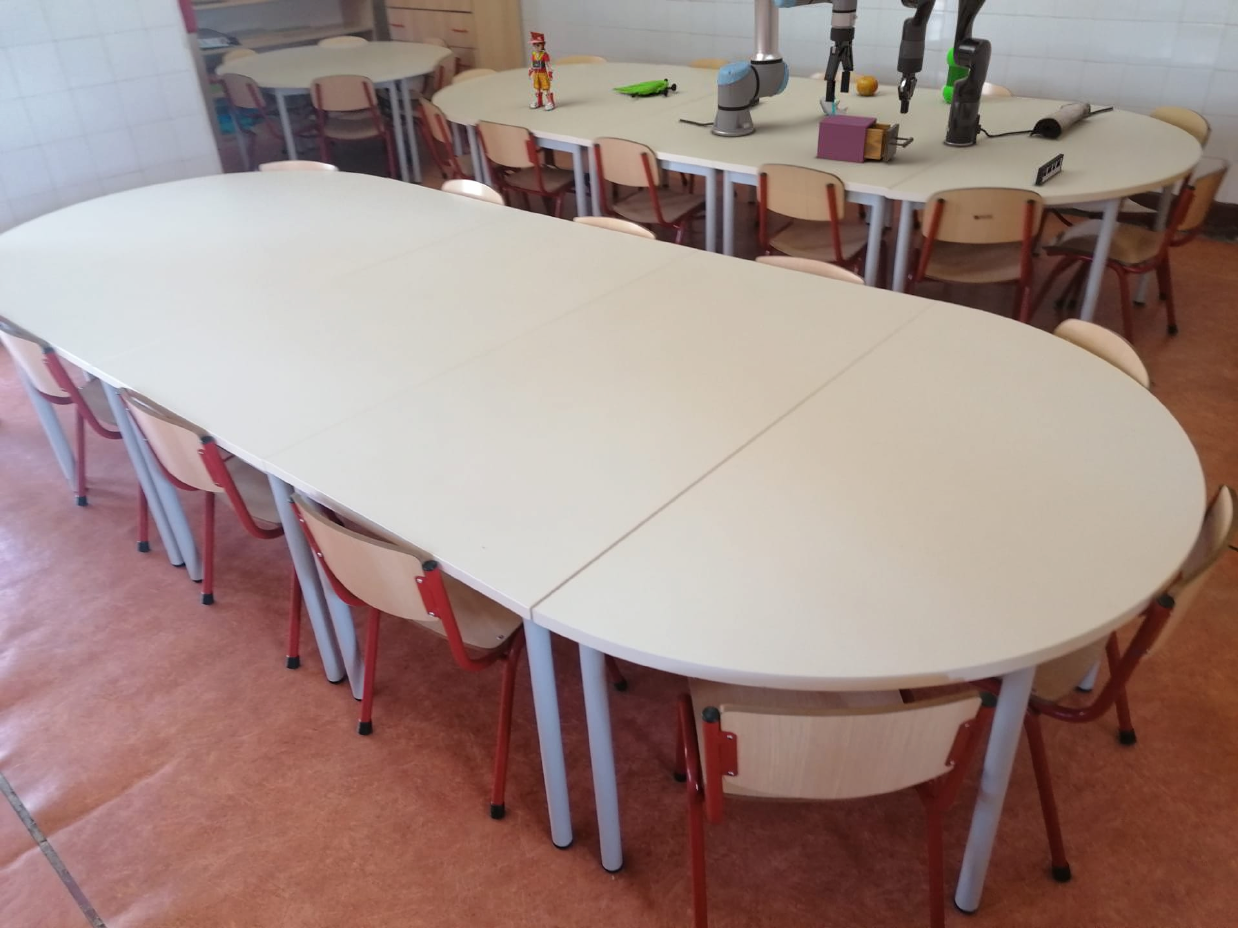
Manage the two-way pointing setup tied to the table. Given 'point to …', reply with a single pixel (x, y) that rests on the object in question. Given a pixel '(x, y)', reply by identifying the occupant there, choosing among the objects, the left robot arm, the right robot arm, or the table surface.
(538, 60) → the toy
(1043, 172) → the midi keyboard
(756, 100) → the disk drive
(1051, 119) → the rolled mat
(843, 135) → the cabinet
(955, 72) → the green dumbbell
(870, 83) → the fruit
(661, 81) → the toy
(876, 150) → the drawer
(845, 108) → the anatomical model
